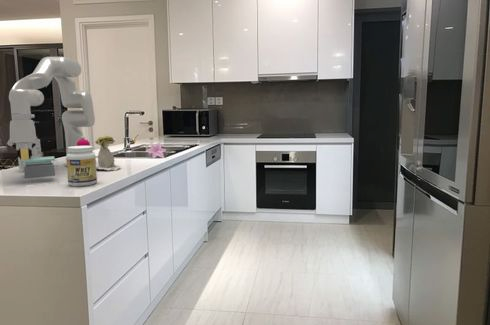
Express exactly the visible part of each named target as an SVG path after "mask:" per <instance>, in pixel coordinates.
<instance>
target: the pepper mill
mask: <svg viewBox="0 0 490 325" xmlns="http://www.w3.org/2000/svg"><path fill="white" fill-rule="evenodd" d="M85 138H86V137H85V136H84V135H83V136H82V137H81V140H79V141H78V142H77V146H91V144H90V143H91V142H90V141H89V140H88V139H85Z"/></svg>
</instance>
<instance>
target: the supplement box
mask: <svg viewBox="0 0 490 325" xmlns="http://www.w3.org/2000/svg"><path fill="white" fill-rule="evenodd" d="M38 140H39V141H40V143H39V144H37V145H35V146H34V147H33V148H32V156H31V158H35V157H43V156H42V147H41V146H42V145H41V139H39V138H38ZM35 142H36V141H35ZM35 142H32V143H31V144H33V143H35ZM21 148H29V145H28V143H20V149H21ZM17 160H18V162H17V163H18V170H19V173H24V165H25V163H21V159H20V157H18V156H17ZM37 164H39V163H37Z"/></svg>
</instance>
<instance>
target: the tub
mask: <svg viewBox="0 0 490 325" xmlns="http://www.w3.org/2000/svg"><path fill="white" fill-rule="evenodd" d="M55 171H56V170H55V163H54V162H51V163H39V164H25V165H24V172H23V173H24V178H25V179H30V178H31V179H32V178H42V177H54V176H56V172H55Z"/></svg>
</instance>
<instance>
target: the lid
mask: <svg viewBox="0 0 490 325" xmlns="http://www.w3.org/2000/svg"><path fill="white" fill-rule="evenodd" d="M20 151H21V163H25V164H37V163H52V161H54V162H55V161H56V159H55V156H54V155H53V156H42V157H35V158H30V159H29V154H28V148H21V149H20Z"/></svg>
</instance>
